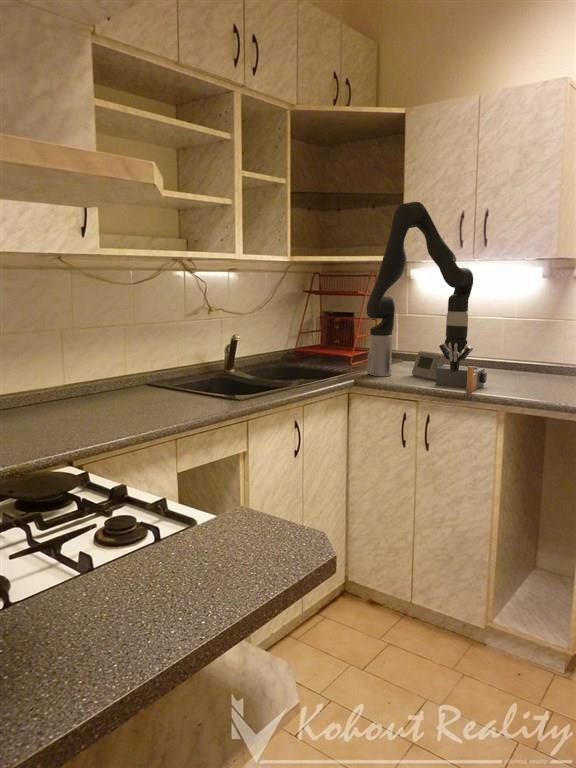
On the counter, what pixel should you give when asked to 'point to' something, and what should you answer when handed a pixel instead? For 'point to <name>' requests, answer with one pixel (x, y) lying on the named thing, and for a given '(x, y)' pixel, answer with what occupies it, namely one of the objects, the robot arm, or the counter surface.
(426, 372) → the digital clock
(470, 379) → the orange flat l-shaped piece
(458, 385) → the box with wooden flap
